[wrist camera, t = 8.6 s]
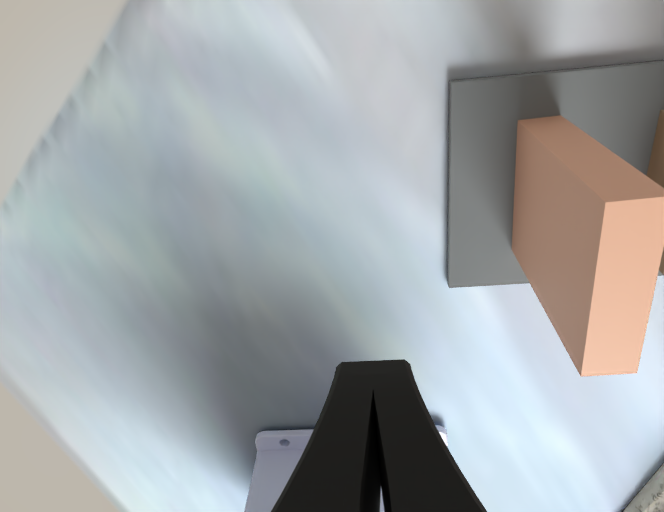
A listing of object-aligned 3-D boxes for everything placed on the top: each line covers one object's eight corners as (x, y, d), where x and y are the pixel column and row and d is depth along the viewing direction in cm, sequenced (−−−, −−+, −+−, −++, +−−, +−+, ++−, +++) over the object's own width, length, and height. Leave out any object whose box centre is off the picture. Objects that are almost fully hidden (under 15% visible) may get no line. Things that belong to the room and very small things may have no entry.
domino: (511, 250, 19) (580, 376, 13) (517, 120, 17) (605, 202, 11) (549, 246, 19) (636, 372, 13) (560, 115, 17) (674, 195, 11)
